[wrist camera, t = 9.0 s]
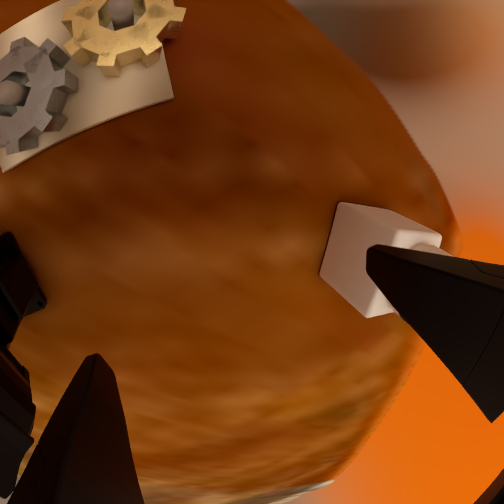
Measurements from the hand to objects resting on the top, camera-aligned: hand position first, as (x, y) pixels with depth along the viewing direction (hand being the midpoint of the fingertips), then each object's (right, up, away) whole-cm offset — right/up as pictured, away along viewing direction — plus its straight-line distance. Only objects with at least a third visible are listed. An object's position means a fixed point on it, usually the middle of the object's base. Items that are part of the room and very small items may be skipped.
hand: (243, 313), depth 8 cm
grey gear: (-13, +11, +2) cm, 17 cm away
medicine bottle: (+10, +3, +17) cm, 20 cm away
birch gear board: (-11, +13, +3) cm, 18 cm away
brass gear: (-7, +15, +3) cm, 16 cm away
